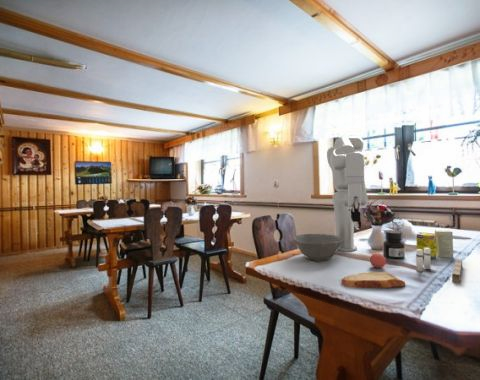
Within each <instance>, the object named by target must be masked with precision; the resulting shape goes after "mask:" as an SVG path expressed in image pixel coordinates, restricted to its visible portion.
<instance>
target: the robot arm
mask: <svg viewBox="0 0 480 380" xmlns="http://www.w3.org/2000/svg"><path fill="white" fill-rule="evenodd" d="M363 149H364V141H363V139H362V138H361V137H360V136H341V137H338V138H337V139H336V140H335V141H334V145H333V146H332V147H329V148H328V149H327V151H326V159H327V160H326V161H327V163H328V165H329V168H330V169H331V172H332V180H333V187H334V189H335V190H336V191H335V192H334V193H333V194H332V203H333V210H334V211H333V212H334V236H338V237H340V238H343V241H342V243H341V244H340V246H339V247H338V249H337V251H340V252H341V251H342V252H354V251H357V250H358V246H357V245H355V239H354V237H355V235H354V232H355V231H354V230H355V229H354V227H355V226H354V222H355V223H360V222H361V218H362V217H361V209H364V208H366V207H367V206H368V204H369V203H368V201H369V198H368V194H367V193H368V192H367V188H366V183H365V156H364V153H362V151H363ZM349 209H350V210H349Z"/></svg>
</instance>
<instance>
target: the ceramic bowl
mask: <svg viewBox="0 0 480 380" xmlns="http://www.w3.org/2000/svg"><path fill="white" fill-rule="evenodd" d="M293 239H294V242H295V244H296V245H297V248H298V250H299V251H300V253H301V254H302V255H303V256H305V257H306V258H307V259H309V260H310V261H313V262H322V261H326V260H330V259H332V258H333V257H334V256H335V255H336V253H337V251H338V250H337V249H338V247H339V246H340V244H341V243H342V241H343V238H340V237H338V236H335V234H327V233H322V234H320V233H307V234H305V233H304V234H298V235H295V236H294V237H293Z"/></svg>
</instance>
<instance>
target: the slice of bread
mask: <svg viewBox="0 0 480 380" xmlns="http://www.w3.org/2000/svg"><path fill="white" fill-rule="evenodd" d="M340 284H341V285H342V286H343V287H346V288H354V289H355V288H356V289H394V288H402V286H403V287H405V286H406V282H405V281H404V280H402V279H399V278H398V277H396V276H395V275H393V274H390V273H389V272H386V271H385V272H384V271H383V272H378V271H377V272H374V271H373V272H361V273H355V274H350V275H349V274H348V275H347V276H344V277H343V278H342V279H341V283H340Z"/></svg>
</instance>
